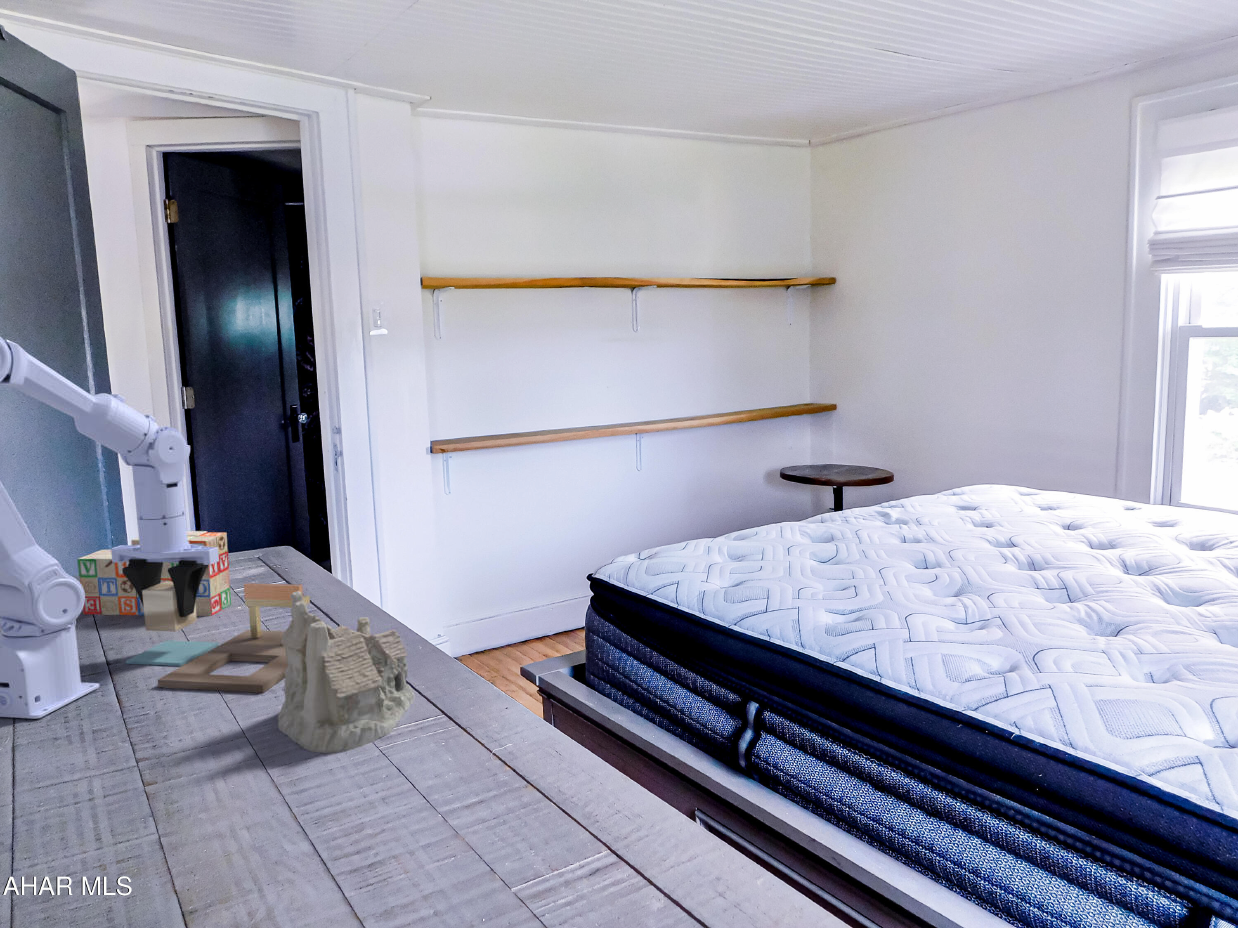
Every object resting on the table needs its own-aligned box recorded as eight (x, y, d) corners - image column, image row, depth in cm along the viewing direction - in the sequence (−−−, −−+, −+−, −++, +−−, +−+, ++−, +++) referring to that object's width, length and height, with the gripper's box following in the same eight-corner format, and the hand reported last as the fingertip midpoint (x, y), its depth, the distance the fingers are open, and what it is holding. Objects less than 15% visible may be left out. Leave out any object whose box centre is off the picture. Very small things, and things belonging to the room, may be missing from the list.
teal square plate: (180, 666, 113) (180, 663, 113) (126, 663, 115) (126, 660, 115) (218, 645, 121) (218, 642, 121) (166, 643, 123) (166, 640, 122)
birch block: (175, 631, 115) (172, 591, 114) (146, 630, 116) (142, 590, 115) (196, 621, 119) (193, 582, 119) (167, 620, 120) (164, 581, 119)
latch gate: (302, 641, 118) (299, 586, 117) (247, 638, 120) (243, 584, 119) (312, 635, 121) (308, 581, 120) (258, 632, 122) (254, 579, 121)
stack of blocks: (81, 615, 137) (74, 539, 135) (107, 604, 143) (100, 531, 141) (212, 616, 135) (206, 539, 134) (233, 604, 141) (227, 530, 140)
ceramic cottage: (304, 761, 86) (302, 613, 85) (262, 713, 99) (261, 584, 98) (449, 729, 95) (449, 594, 94) (393, 689, 108) (393, 570, 108)
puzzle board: (263, 692, 104) (262, 684, 104) (158, 687, 106) (157, 679, 106) (338, 640, 123) (338, 633, 122) (248, 636, 125) (247, 629, 125)
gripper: (229, 510, 118) (236, 606, 120) (133, 509, 121) (142, 603, 122) (196, 521, 111) (204, 623, 113) (95, 519, 114) (105, 619, 115)
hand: (170, 614), depth 117 cm, fingers closed on birch block, 4 cm apart
